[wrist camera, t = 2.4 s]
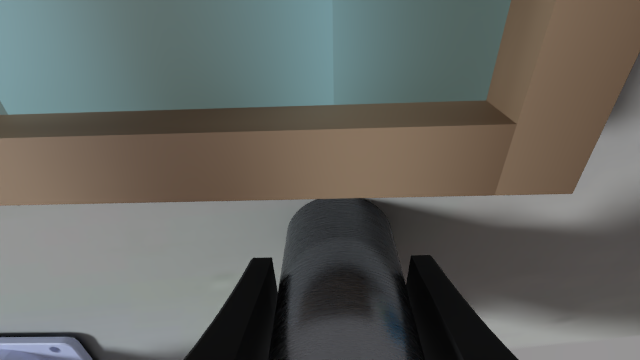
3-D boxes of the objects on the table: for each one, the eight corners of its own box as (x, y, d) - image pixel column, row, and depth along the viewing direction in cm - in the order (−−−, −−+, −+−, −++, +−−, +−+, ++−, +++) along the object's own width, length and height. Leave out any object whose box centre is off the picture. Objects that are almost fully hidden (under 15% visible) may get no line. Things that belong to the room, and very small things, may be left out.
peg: (291, 273, 13) (265, 506, 8) (282, 196, 11) (234, 437, 5) (387, 272, 13) (436, 508, 7) (395, 194, 11) (474, 437, 5)
